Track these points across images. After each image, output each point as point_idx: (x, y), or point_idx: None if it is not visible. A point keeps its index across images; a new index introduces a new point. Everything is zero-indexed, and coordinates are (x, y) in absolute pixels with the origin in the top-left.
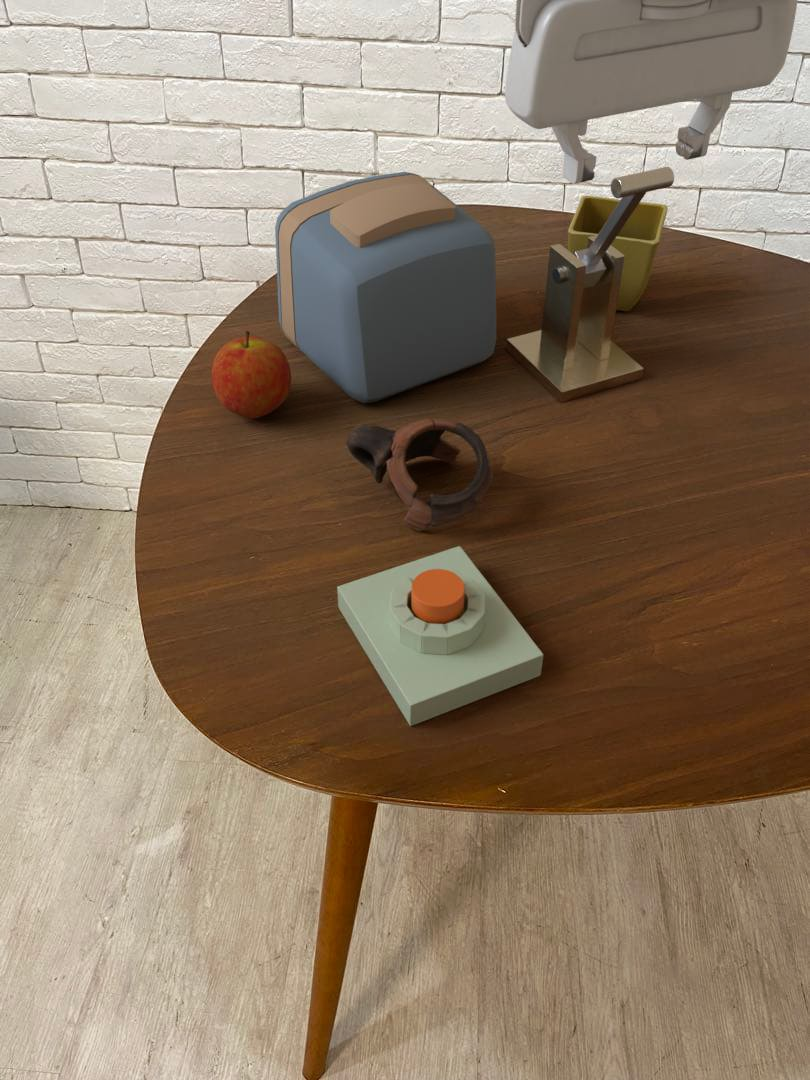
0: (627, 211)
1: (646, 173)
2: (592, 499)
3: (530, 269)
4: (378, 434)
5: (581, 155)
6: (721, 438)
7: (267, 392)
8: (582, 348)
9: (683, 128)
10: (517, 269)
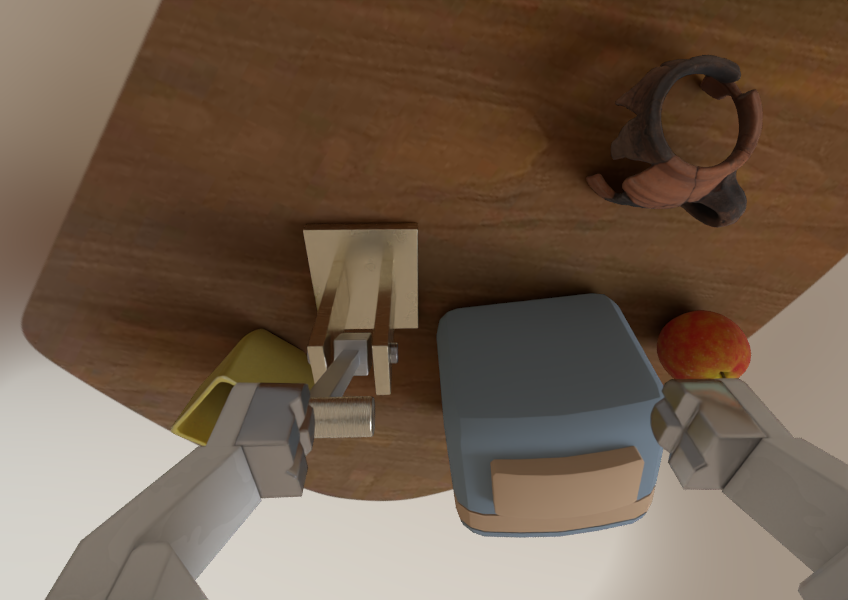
0: (330, 383)
1: None
2: (492, 38)
3: None
4: (729, 197)
5: (799, 450)
6: (266, 75)
7: (716, 322)
8: (351, 287)
9: (286, 492)
10: None
